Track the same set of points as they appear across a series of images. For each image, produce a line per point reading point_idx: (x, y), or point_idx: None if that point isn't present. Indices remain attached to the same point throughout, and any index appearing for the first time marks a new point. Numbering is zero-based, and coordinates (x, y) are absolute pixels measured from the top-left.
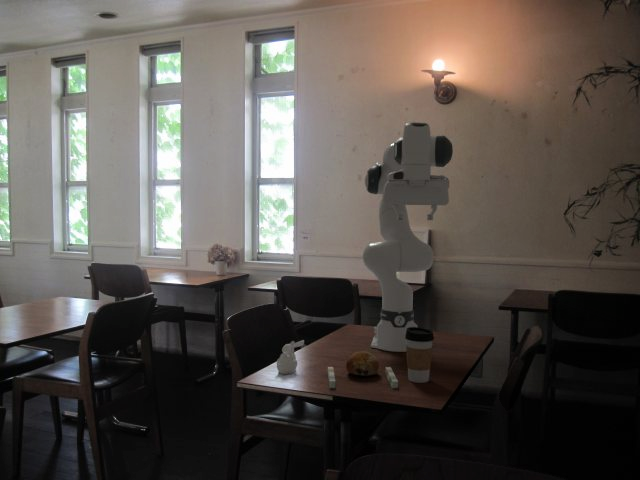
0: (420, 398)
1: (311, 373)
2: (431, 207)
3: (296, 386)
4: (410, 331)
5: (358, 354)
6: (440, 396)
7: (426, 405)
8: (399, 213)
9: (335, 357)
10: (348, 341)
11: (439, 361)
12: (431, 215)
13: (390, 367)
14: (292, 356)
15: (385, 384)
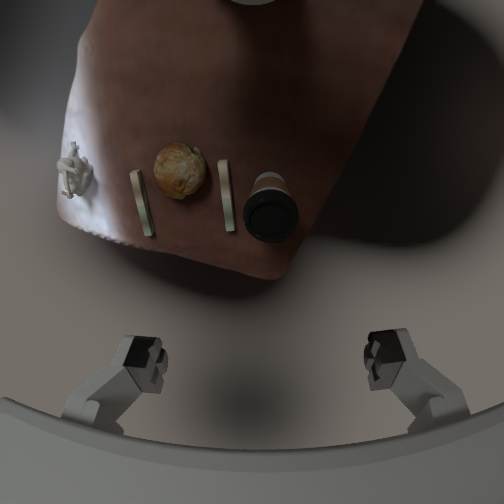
0: (261, 258)
1: (113, 174)
2: (423, 418)
3: (110, 228)
4: (251, 232)
5: (167, 186)
6: (287, 250)
7: (264, 277)
8: (137, 395)
9: (133, 79)
10: None
11: (325, 80)
12: (391, 381)
13: (226, 163)
14: (77, 179)
15: (218, 210)
